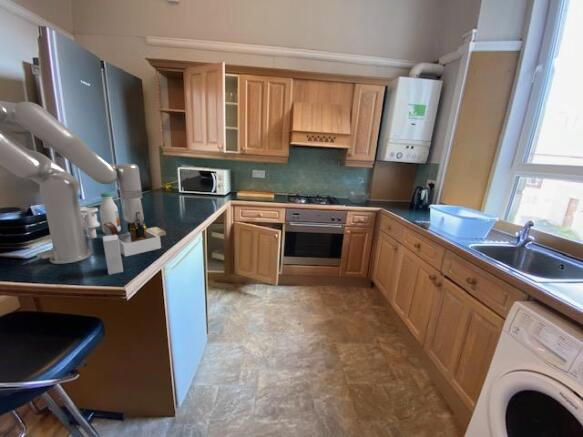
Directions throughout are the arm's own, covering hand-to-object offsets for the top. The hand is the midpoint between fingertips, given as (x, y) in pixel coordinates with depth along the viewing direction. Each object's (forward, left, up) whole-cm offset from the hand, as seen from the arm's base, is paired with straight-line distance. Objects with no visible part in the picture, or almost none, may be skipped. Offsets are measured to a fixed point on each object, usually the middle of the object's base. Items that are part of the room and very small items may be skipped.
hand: (136, 234), depth 108 cm
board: (+9, +16, -6) cm, 19 cm away
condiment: (0, 0, -6) cm, 6 cm away
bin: (0, 0, -6) cm, 6 cm away
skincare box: (-13, -19, -6) cm, 24 cm away
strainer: (-10, +30, -6) cm, 32 cm away
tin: (-5, +17, -6) cm, 19 cm away
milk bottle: (-1, +35, -6) cm, 36 cm away
